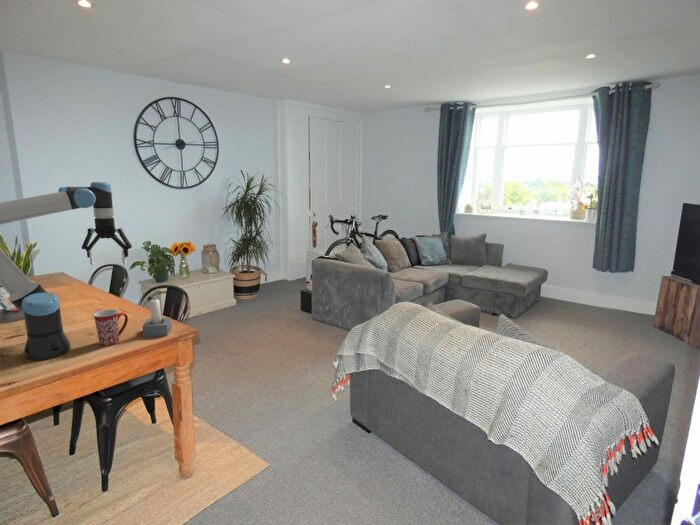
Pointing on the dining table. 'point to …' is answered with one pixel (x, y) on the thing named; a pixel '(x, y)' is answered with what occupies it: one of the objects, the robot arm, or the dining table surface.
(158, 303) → the candle
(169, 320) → the holder
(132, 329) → the dining table surface
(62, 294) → the dining table surface
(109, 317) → the mug
